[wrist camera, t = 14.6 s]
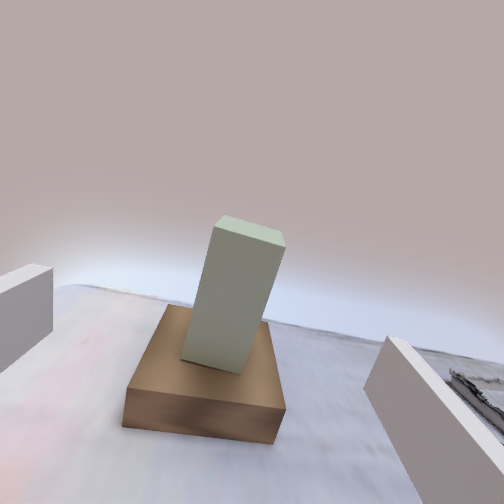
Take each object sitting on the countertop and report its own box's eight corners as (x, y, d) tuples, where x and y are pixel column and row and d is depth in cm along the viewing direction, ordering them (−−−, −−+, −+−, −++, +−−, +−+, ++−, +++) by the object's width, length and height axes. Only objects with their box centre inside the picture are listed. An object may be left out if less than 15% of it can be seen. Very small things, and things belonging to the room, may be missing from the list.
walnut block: (258, 351, 30) (267, 322, 29) (271, 449, 20) (286, 409, 18) (163, 335, 28) (168, 304, 27) (121, 431, 18) (127, 387, 17)
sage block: (245, 337, 25) (280, 231, 22) (241, 375, 20) (285, 247, 17) (196, 323, 25) (224, 214, 22) (180, 358, 20) (213, 226, 17)
